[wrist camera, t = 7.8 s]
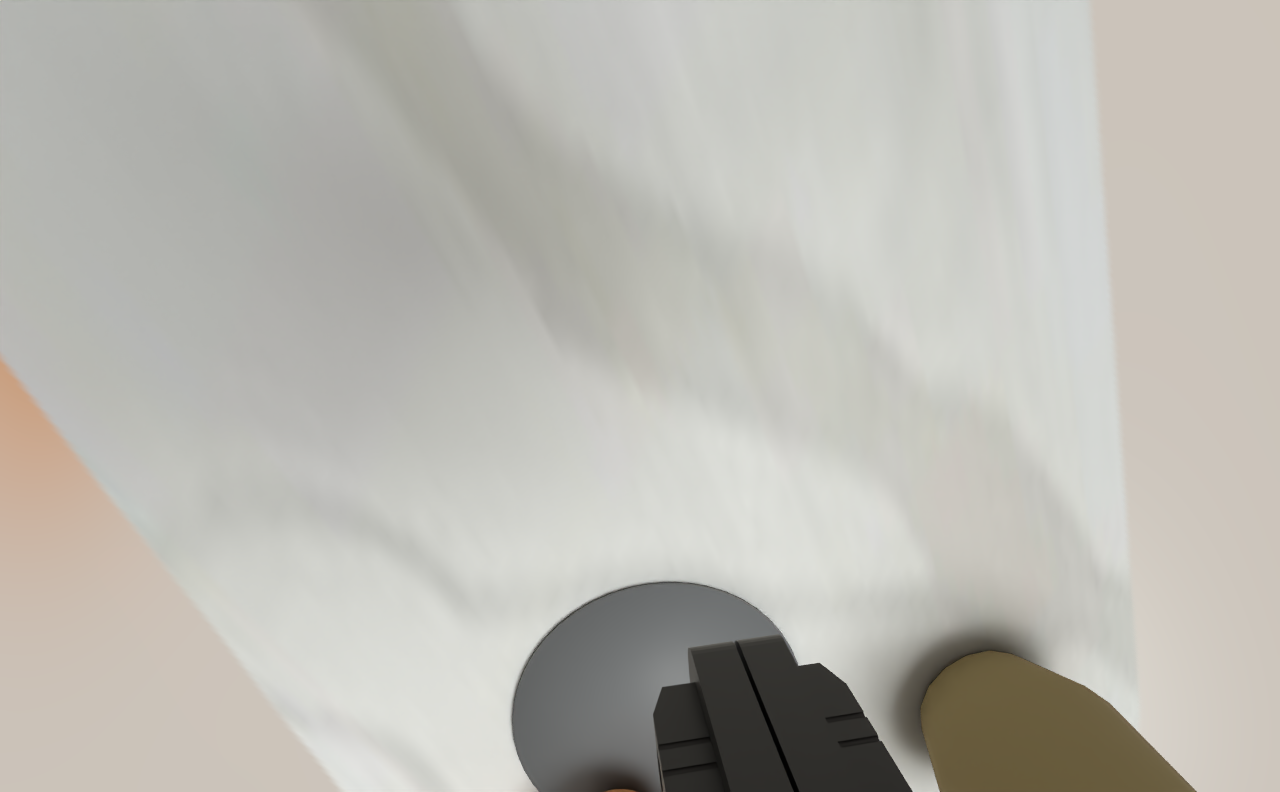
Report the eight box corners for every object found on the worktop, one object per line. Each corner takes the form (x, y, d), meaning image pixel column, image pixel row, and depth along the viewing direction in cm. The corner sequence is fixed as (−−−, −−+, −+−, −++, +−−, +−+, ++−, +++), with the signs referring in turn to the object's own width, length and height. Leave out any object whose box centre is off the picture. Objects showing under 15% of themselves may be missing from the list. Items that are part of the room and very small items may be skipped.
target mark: (493, 604, 25) (492, 607, 25) (798, 563, 26) (800, 566, 26) (533, 851, 28) (532, 855, 28) (804, 807, 29) (806, 810, 29)
